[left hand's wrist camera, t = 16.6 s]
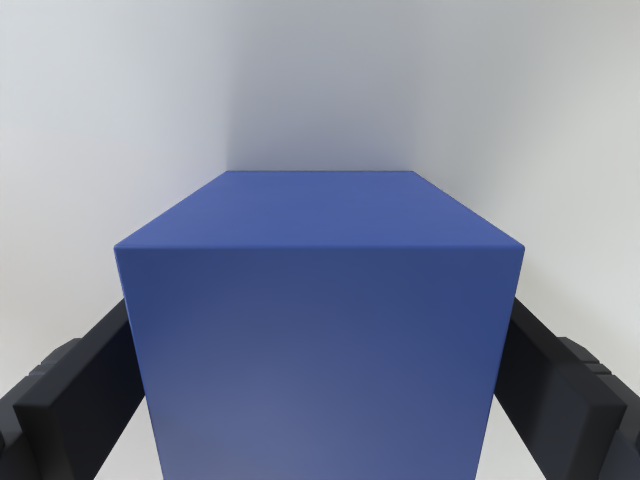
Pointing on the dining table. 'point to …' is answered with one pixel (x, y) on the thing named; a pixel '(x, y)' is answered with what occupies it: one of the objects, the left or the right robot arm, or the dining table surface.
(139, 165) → the dining table surface
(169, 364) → the block
